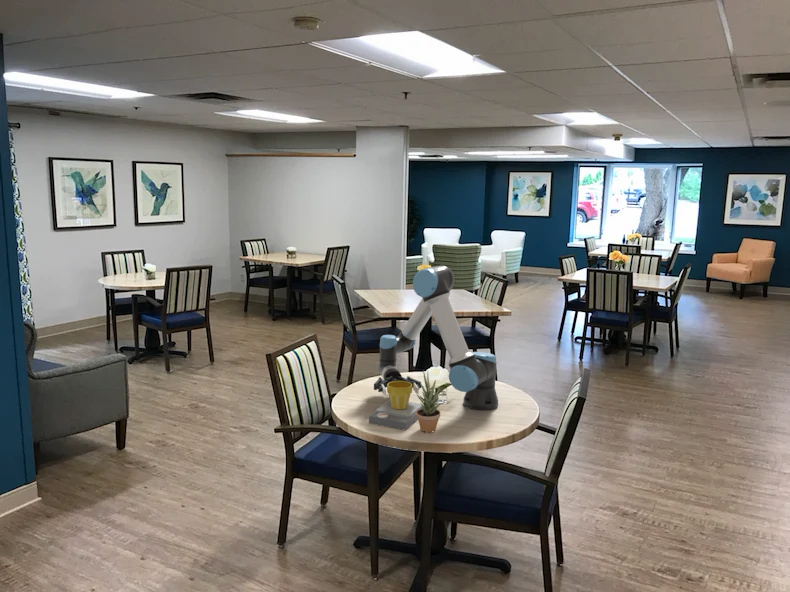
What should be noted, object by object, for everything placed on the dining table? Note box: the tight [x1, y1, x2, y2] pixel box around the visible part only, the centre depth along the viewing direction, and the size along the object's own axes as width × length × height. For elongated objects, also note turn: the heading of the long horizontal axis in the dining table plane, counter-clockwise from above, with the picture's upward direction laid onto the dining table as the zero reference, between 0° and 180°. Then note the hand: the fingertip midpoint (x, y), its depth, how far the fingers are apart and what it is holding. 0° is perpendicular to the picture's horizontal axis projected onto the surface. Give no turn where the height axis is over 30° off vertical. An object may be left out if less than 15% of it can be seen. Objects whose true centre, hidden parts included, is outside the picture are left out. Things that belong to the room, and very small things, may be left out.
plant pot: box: [386, 381, 413, 410], centre depth 261 cm, size 10×10×10 cm
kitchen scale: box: [368, 399, 424, 431], centre depth 260 cm, size 16×20×4 cm
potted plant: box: [416, 370, 442, 433], centre depth 246 cm, size 10×10×25 cm
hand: (401, 391), depth 257 cm, fingers open, 13 cm apart
